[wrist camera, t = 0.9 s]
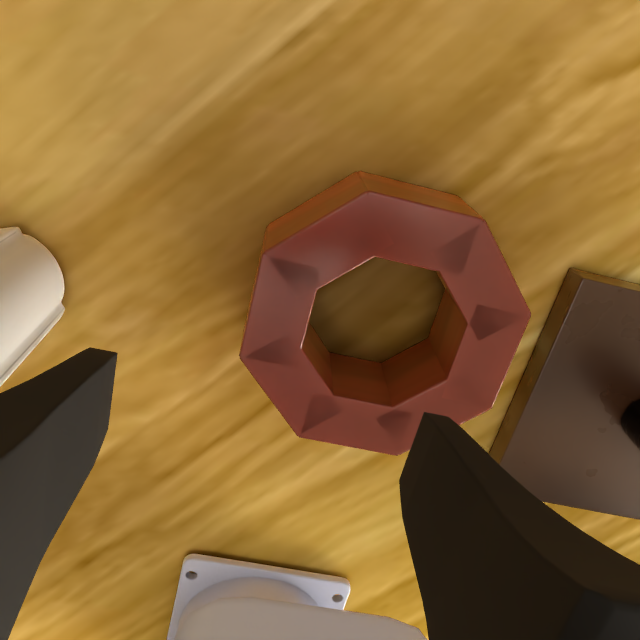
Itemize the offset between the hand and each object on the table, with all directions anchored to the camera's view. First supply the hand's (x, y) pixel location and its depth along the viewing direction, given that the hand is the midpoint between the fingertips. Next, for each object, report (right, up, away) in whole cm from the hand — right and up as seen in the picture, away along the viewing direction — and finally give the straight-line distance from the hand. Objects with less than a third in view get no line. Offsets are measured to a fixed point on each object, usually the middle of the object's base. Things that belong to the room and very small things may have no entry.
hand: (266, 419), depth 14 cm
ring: (+3, +3, +10) cm, 11 cm away
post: (+14, -1, +12) cm, 19 cm away
